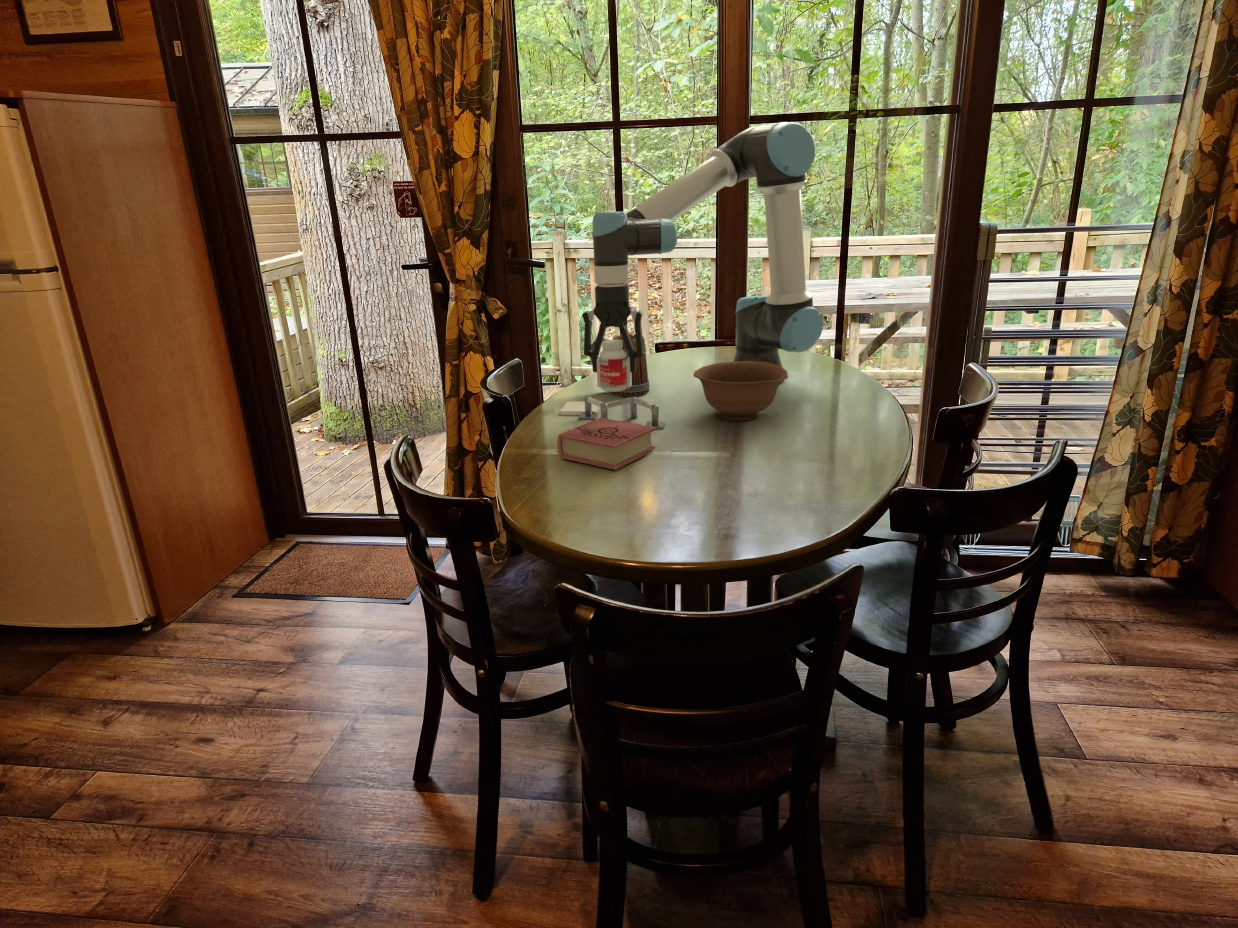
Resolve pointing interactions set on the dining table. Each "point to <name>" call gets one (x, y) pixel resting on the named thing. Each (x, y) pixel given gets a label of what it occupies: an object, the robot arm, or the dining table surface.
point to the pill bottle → (613, 366)
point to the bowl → (740, 387)
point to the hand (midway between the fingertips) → (614, 385)
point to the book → (606, 443)
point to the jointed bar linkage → (631, 400)
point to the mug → (639, 376)
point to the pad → (577, 408)
